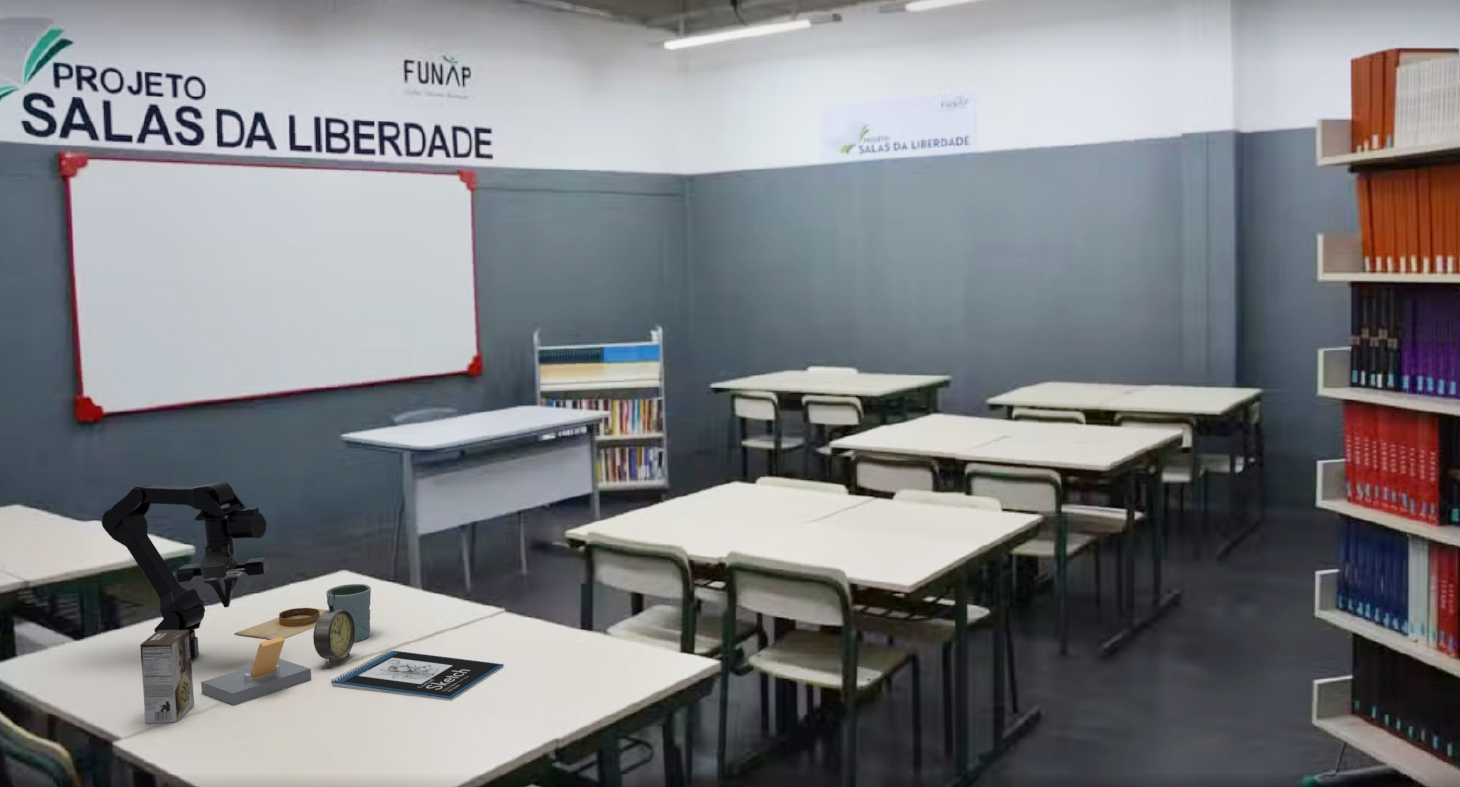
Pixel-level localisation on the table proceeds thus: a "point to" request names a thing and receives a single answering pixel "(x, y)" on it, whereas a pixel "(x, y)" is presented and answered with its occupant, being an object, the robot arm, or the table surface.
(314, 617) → the board
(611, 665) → the table surface
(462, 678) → the sketchbook
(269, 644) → the orange foam slab
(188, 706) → the coffee box
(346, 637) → the alarm clock
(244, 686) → the switch panel
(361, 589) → the blue-grey cylinder
